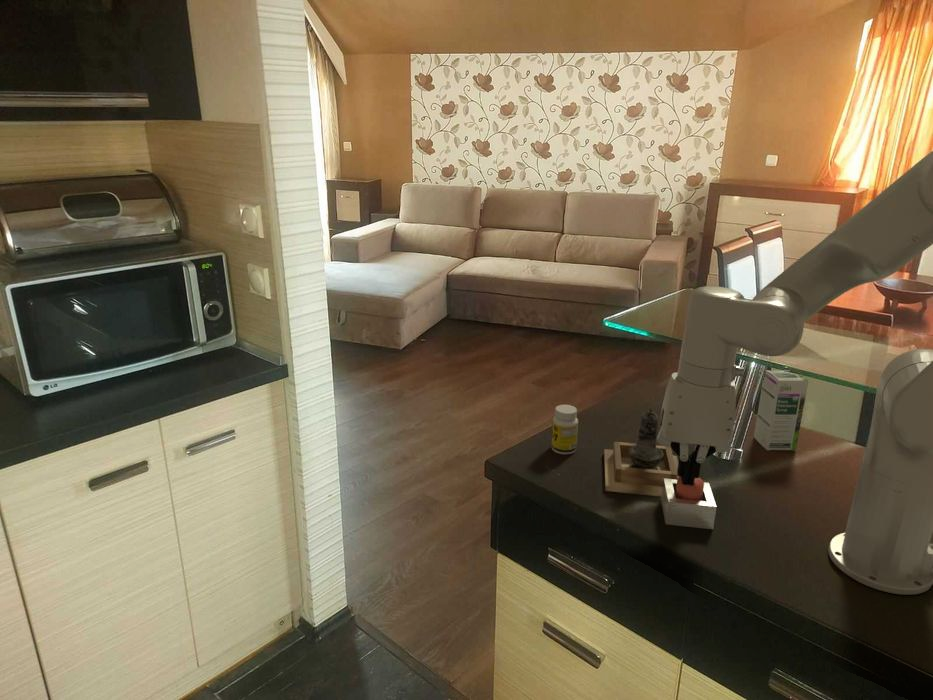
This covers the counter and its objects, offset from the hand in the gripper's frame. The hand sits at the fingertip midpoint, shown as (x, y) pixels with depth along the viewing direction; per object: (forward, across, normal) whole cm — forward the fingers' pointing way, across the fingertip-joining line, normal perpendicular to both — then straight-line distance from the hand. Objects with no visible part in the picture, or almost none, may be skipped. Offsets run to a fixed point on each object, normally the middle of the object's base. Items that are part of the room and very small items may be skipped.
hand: (686, 480), depth 101 cm
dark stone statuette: (+5, +5, -11) cm, 13 cm away
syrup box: (+6, -21, -28) cm, 35 cm away
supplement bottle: (+7, +19, -18) cm, 27 cm away
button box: (+6, -1, 0) cm, 6 cm away
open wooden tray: (+6, +5, -11) cm, 14 cm away
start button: (+3, -1, 0) cm, 3 cm away
